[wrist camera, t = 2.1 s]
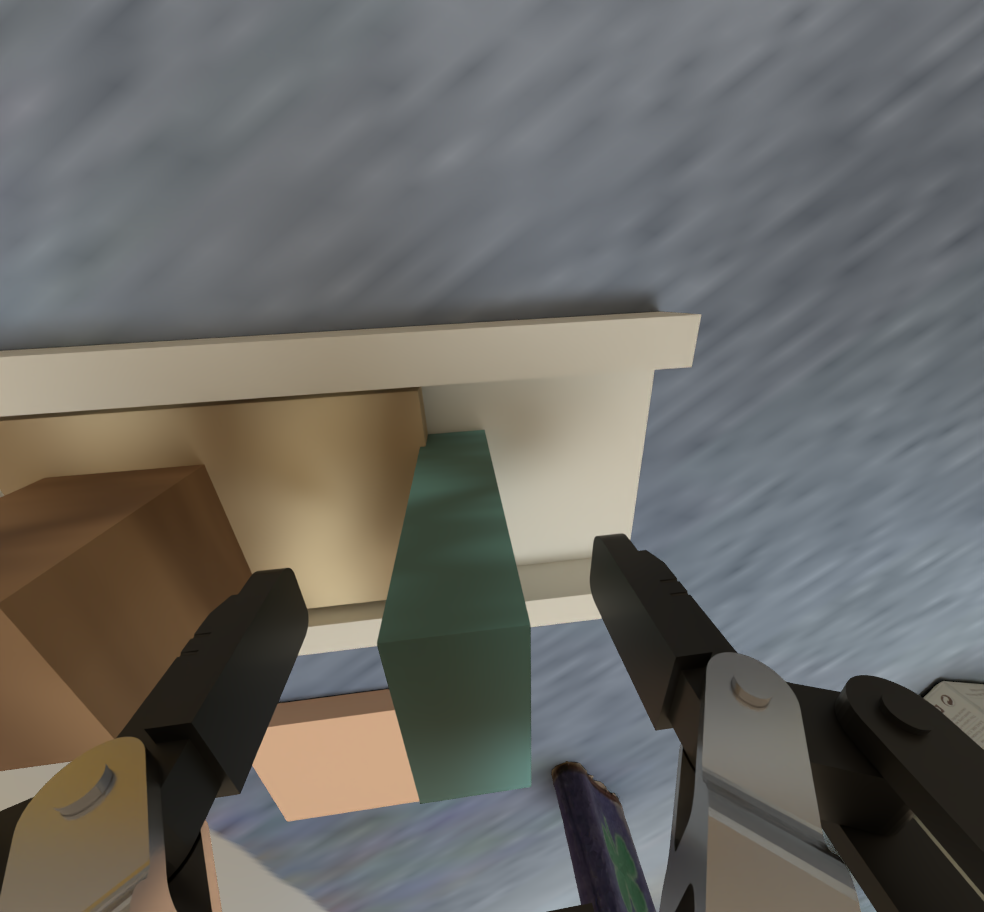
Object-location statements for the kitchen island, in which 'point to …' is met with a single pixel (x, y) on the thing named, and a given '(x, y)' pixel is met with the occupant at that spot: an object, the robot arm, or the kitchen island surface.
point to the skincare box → (961, 706)
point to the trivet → (335, 756)
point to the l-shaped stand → (352, 545)
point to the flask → (599, 843)
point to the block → (102, 600)
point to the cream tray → (430, 419)
